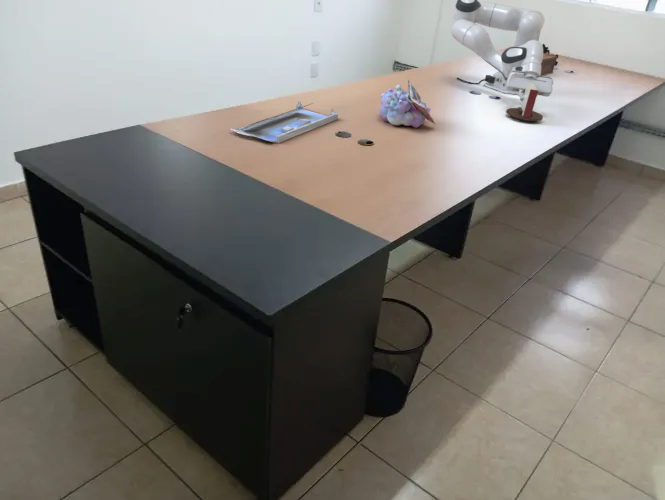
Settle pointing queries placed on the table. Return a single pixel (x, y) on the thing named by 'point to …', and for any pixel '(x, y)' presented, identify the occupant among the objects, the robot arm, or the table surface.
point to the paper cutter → (287, 124)
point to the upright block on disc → (527, 105)
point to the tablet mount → (548, 52)
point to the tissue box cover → (548, 64)
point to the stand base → (523, 120)
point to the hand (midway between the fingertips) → (526, 100)
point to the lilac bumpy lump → (404, 107)
